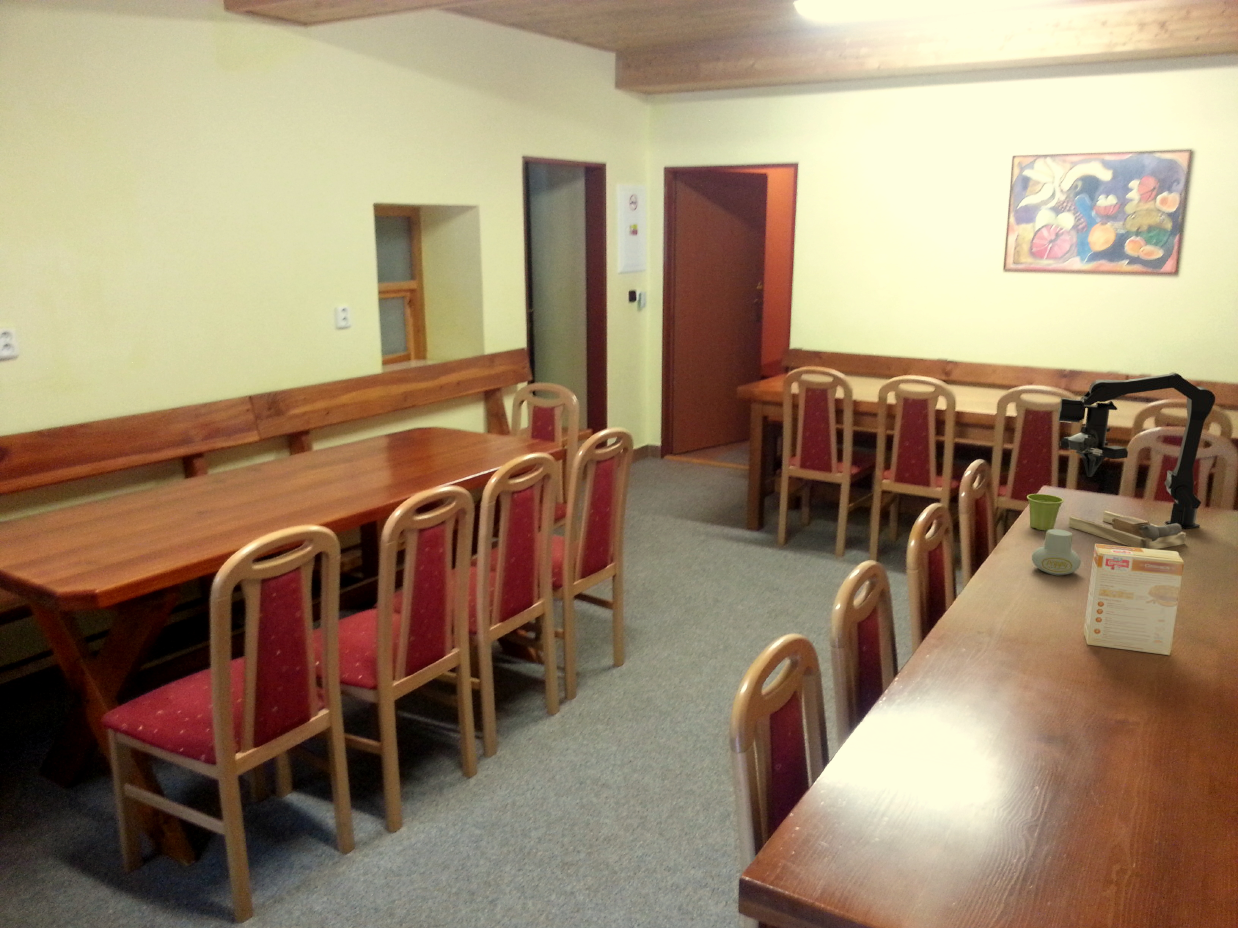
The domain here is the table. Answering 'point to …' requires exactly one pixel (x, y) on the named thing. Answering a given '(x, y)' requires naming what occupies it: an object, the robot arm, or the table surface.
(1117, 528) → the box
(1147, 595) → the coffeecake box
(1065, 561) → the air freshener
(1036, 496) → the plant pot
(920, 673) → the table surface
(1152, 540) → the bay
